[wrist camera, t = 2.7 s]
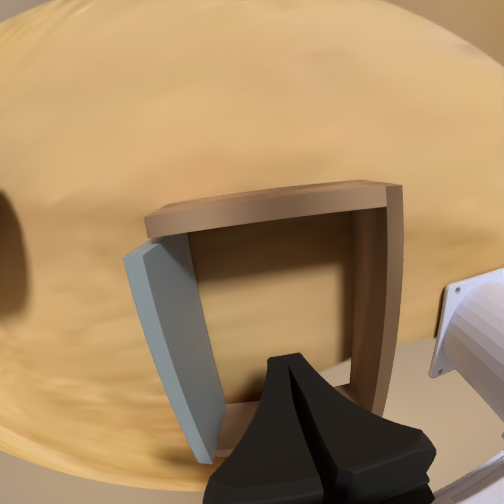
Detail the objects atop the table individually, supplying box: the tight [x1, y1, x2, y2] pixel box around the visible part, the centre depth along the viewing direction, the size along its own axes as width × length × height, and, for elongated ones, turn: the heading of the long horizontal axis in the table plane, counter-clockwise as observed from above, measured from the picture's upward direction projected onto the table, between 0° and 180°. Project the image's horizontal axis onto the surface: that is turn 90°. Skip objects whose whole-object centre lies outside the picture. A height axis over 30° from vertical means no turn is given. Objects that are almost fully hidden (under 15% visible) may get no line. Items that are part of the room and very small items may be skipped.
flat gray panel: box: [123, 232, 226, 464], centre depth 13 cm, size 1×12×5 cm, turn 7°
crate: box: [144, 180, 404, 457], centre depth 14 cm, size 10×14×4 cm
